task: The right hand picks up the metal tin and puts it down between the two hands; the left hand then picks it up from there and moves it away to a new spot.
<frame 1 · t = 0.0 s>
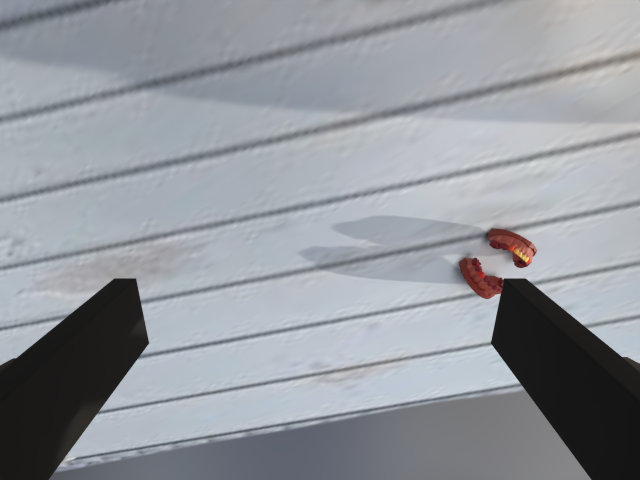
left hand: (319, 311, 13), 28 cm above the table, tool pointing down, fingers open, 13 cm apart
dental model: (490, 257, 42), on the table
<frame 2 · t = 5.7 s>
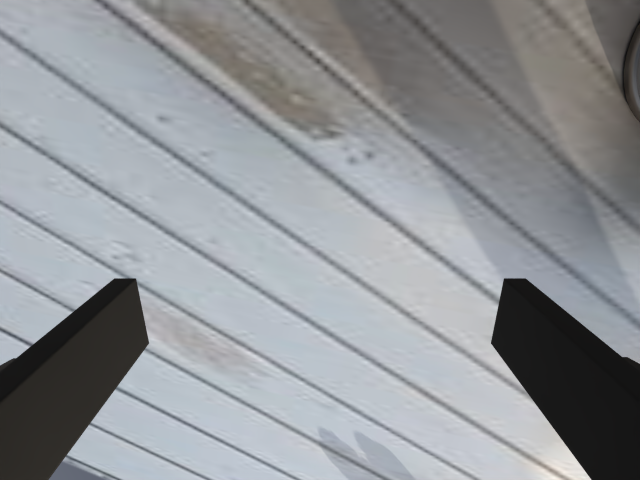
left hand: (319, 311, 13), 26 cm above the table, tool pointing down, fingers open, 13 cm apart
when the right hand's fingers open (4 cm above the table, at t = 16.0 s): tin drops 2 cm, on the table.
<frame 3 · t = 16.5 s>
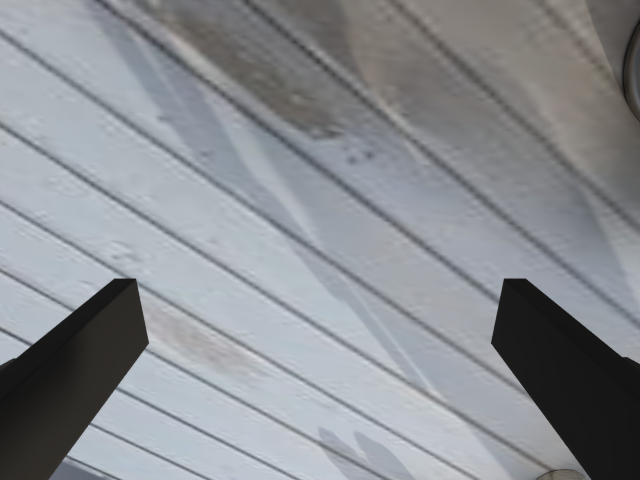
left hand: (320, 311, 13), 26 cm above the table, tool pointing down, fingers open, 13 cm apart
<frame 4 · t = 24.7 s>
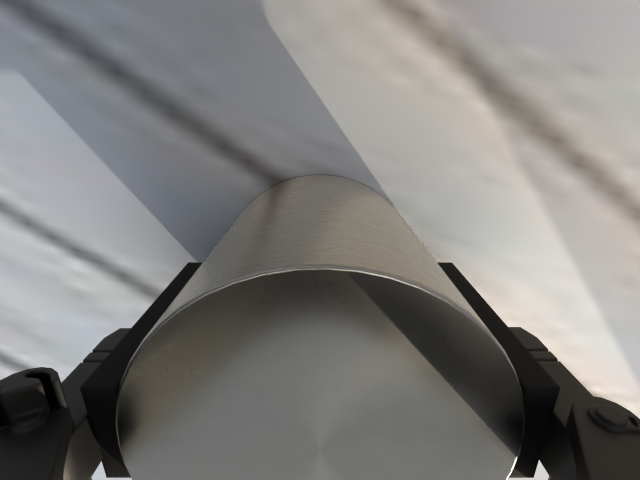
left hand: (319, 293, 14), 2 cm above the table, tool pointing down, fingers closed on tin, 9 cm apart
tin: (320, 268, 16), on the table, touching left hand
when the left hand's fingers open (4 cm above the table, at t = 34.4 s): tin drops 2 cm, on the table.
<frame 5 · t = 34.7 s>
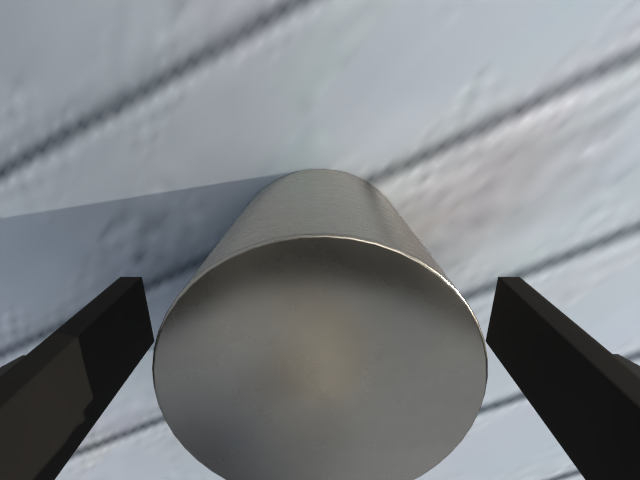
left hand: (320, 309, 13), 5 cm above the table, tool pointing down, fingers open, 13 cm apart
tin: (320, 255, 18), on the table
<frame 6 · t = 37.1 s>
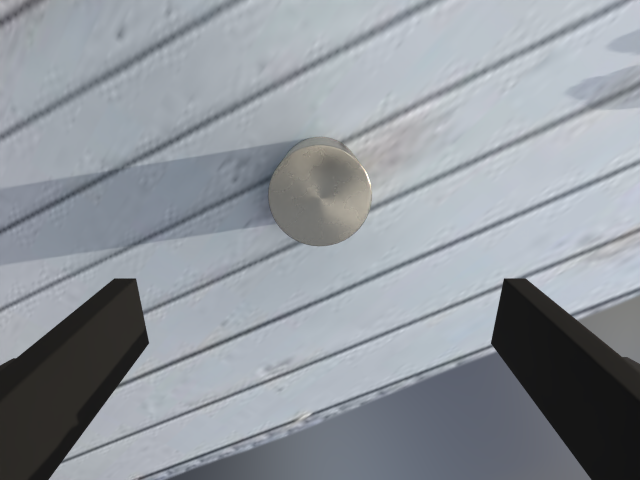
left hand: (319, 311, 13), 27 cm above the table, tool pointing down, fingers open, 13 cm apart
tin: (320, 178, 38), on the table
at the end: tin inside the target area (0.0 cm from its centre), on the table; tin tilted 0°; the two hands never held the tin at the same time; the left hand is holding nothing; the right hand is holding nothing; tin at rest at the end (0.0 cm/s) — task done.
